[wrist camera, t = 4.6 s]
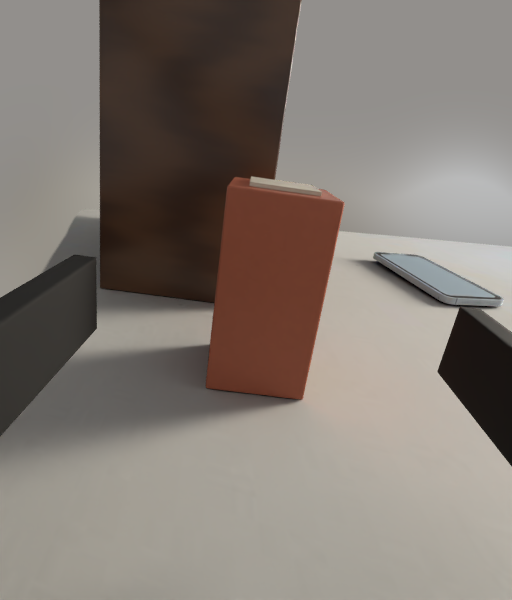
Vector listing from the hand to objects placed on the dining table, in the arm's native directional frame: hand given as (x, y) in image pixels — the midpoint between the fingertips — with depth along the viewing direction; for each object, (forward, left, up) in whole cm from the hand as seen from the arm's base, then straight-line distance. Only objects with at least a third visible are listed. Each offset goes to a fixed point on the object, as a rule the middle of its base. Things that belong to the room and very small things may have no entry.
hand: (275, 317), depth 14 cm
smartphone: (+20, +30, -6) cm, 37 cm away
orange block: (0, +6, -6) cm, 9 cm away
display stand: (-6, +28, -6) cm, 30 cm away
